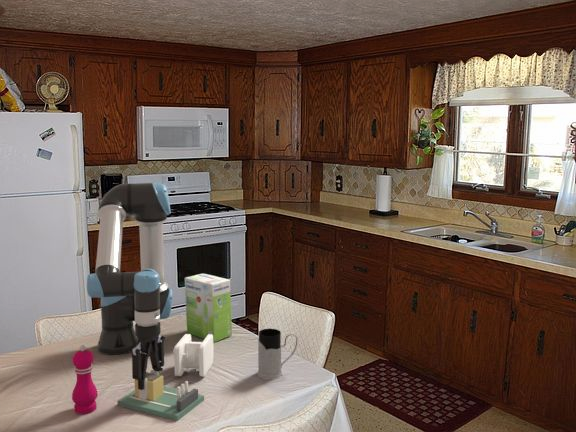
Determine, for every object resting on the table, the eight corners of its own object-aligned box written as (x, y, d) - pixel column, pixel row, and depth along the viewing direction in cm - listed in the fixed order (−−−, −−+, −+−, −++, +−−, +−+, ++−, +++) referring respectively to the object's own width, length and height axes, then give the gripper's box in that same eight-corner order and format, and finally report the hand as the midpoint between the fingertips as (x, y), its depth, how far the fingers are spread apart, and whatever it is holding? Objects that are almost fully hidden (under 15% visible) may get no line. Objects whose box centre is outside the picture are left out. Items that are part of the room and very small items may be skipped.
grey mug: (254, 369, 195) (254, 329, 193) (293, 366, 199) (294, 325, 197) (259, 380, 187) (259, 337, 185) (300, 376, 190) (300, 334, 188)
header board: (117, 405, 169) (116, 382, 168) (147, 386, 181) (146, 365, 180) (177, 420, 160) (176, 396, 159) (204, 400, 172) (203, 377, 171)
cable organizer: (203, 381, 186) (203, 348, 184) (172, 379, 187) (172, 346, 185) (214, 363, 201) (213, 332, 199) (185, 362, 202) (185, 331, 200)
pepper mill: (76, 404, 169) (73, 341, 167) (100, 403, 170) (98, 340, 167) (69, 415, 162) (66, 350, 159) (94, 414, 163) (91, 349, 160)
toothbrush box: (185, 333, 232) (184, 276, 228) (204, 326, 239) (203, 272, 236) (213, 343, 220) (212, 284, 217) (232, 336, 228) (231, 279, 225)
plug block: (135, 396, 171) (134, 377, 170) (145, 389, 176) (145, 371, 175) (153, 401, 168) (153, 381, 167) (163, 394, 173) (163, 375, 172)
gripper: (138, 333, 159) (140, 409, 162) (175, 315, 175) (176, 385, 179) (117, 329, 162) (119, 404, 165) (156, 312, 178) (157, 380, 182)
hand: (149, 394), depth 172 cm, fingers closed on plug block, 5 cm apart
